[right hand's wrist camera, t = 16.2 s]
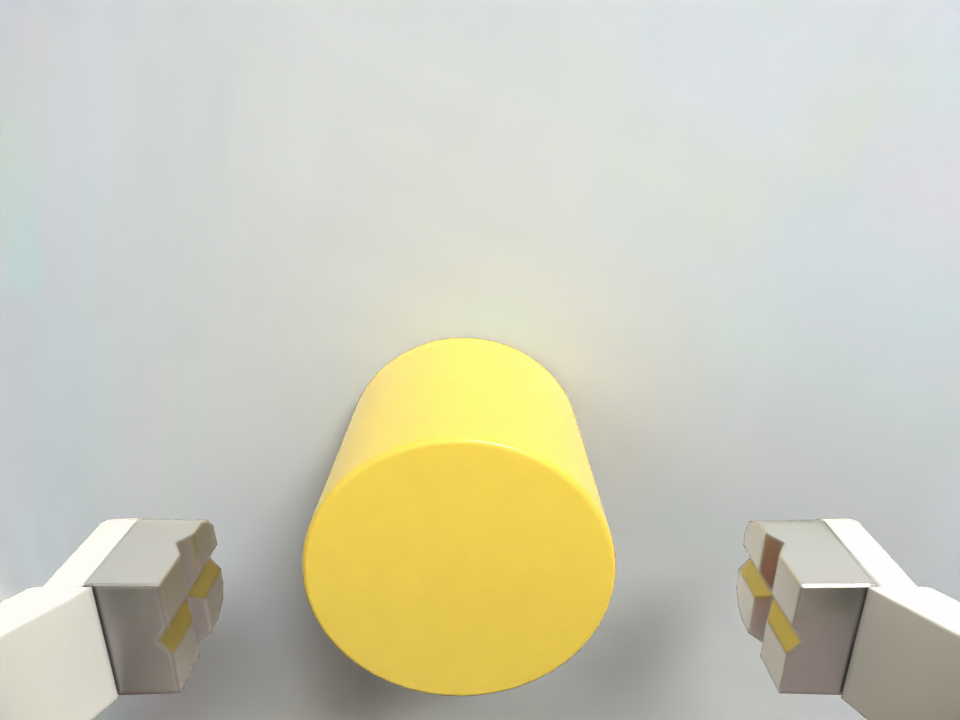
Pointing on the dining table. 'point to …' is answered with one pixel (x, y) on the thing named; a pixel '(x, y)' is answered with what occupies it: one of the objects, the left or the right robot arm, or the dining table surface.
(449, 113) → the dining table surface
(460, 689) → the tin
